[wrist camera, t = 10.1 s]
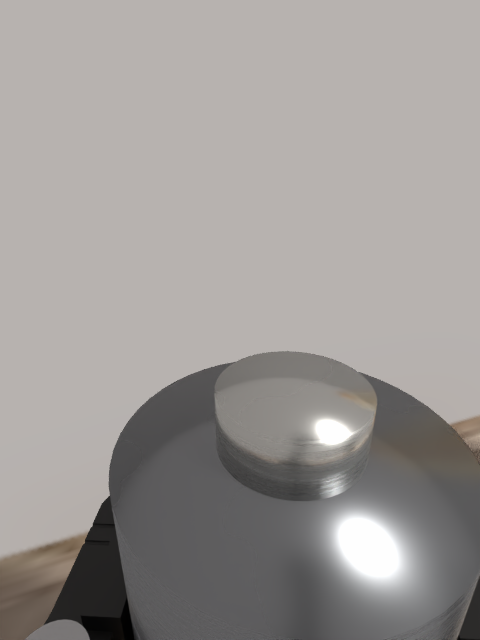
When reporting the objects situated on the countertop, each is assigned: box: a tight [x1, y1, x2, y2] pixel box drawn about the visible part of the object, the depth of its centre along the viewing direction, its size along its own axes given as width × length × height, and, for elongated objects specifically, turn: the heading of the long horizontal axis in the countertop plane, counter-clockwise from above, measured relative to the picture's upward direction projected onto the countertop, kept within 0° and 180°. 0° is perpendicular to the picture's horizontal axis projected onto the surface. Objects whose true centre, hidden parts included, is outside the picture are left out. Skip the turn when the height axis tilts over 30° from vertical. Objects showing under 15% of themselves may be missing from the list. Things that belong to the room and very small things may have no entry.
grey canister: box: [109, 351, 480, 640], centre depth 8 cm, size 7×7×11 cm
